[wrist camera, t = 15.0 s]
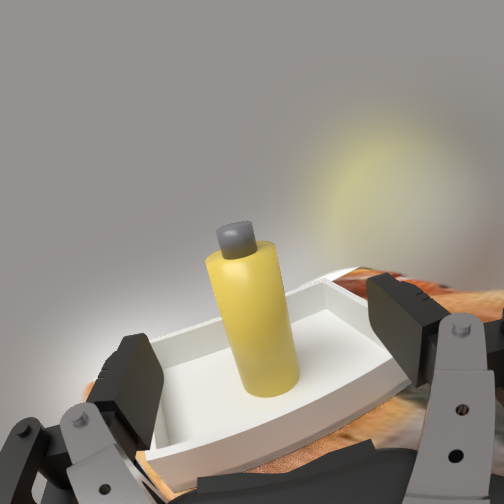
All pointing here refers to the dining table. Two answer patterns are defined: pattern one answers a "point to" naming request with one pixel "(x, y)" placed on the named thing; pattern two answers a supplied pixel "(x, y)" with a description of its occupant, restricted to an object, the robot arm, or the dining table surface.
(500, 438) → the dining table surface
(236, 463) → the tray
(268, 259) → the squeeze bottle
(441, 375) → the robot arm
